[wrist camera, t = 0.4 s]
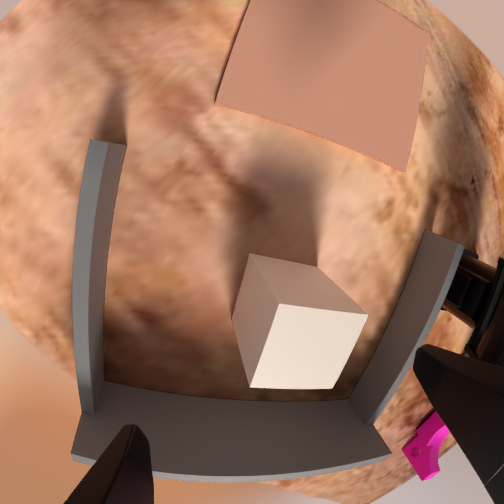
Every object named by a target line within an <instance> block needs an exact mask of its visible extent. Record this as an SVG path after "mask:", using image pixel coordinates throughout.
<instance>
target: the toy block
mask: <svg viewBox="0 0 504 504" xmlns="http://www.w3.org/2000/svg"><path fill="white" fill-rule="evenodd" d="M416 432H417V433H418V436H417V437H415V438H414V439H413V440H412V441H411V442H410V443H409V444H408V445H407V446H405V447H404V448H403V449H402V451H403V452H404V454H405V455H406V457H407V458H408V460H409V462H410V463H411V465H412V466H413V468H414V469H415V471H416V472H417V474H418V475H419V477H420V479H421V480H422V481H423V480H427V479H430V478H432V477H433V476H434V475H436V474H437V473H438V472H439V471H440V469H439V465H438V453H439V449H440V446H441V444H442V442H443V440H444V439H445V437H446V436H447V435H448V434H449V433H450V431H449V429H448V428H447V426H446V425H445V423H444V422H443V421H442V419H441V418H440V416H439V415H438V413H437V412H436V411H435V412H434V413H433V414H432V415H431V416H430V417H429V418H428V419H427V420H426V421H425V422H424V423H423V424H422V425H421V426H420V427H419V428H418V429H417V430H416ZM420 450H421V452H420Z"/></svg>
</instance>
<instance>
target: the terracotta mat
mask: <svg viewBox="0 0 504 504" xmlns="http://www.w3.org/2000/svg"><path fill="white" fill-rule="evenodd" d="M427 44H428V34H427V33H426V32H424V31H423V30H422V29H420V28H419V27H417V26H416V25H415V24H413V23H412V22H410V21H409V20H407V19H406V18H404V17H403V16H401V15H400V14H398V13H397V12H395V11H394V10H392V9H390V8H389V7H387V6H386V5H384V4H382V3H381V2H379V1H377V0H251V1H250V3H249V6H248V8H247V11H246V13H245V16H244V19H243V21H242V24H241V27H240V29H239V32H238V35H237V38H236V40H235V43H234V46H233V49H232V52H231V55H230V58H229V60H228V63H227V66H226V69H225V73H224V76H223V79H222V82H221V85H220V88H219V91H218V95H217V98H216V101H215V105H219V106H223V107H227V108H231V109H234V110H238V111H242V112H245V113H249V114H252V115H256V116H259V117H263V118H266V119H269V120H272V121H276V122H279V123H282V124H285V125H288V126H291V127H294V128H297V129H300V130H302V131H305V132H308V133H311V134H314V135H316V136H319V137H322V138H324V139H327V140H330V141H332V142H335V143H337V144H340V145H342V146H345V147H347V148H350V149H352V150H354V151H357V152H359V153H362V154H364V155H366V156H368V157H371V158H373V159H375V160H377V161H380V162H382V163H384V164H386V165H388V166H390V167H392V168H395V169H397V170H399V171H401V172H406V168H407V163H408V159H409V155H410V151H411V146H412V142H413V137H414V132H415V127H416V122H417V117H418V112H419V106H420V100H421V94H422V87H423V80H424V72H425V64H426V55H427Z"/></svg>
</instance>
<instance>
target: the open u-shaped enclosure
mask: <svg viewBox="0 0 504 504" xmlns="http://www.w3.org/2000/svg"><path fill="white" fill-rule="evenodd" d="M126 148H127V145H122V144H117V143H110V142H104V141H98V140H91V139H90V143H89V148H88V152H87V157H86V162H85V167H84V173H83V178H82V184H81V191H80V197H79V204H78V212H77V221H76V231H75V242H74V256H73V280H72V316H73V339H74V353H75V364H76V374H77V382H78V389H79V397H80V403H81V409H82V414H81V417H80V421H79V424H78V428H77V432H76V435H75V439H74V442H73V447H72V450H71V455H72V458H73V460H74V461H77V462H80V463H84V464H88V465H92V466H93V465H94V463H95V462H96V461H97V459H98V458H99V457H100V455H101V454H102V453H103V451H104V450H105V449H106V448H107V446H108V445H109V444H110V442H111V441H112V440H113V438H114V437H115V436H116V434H117V433H118V432H119V431H120V429H121V428H122V427H123V426H124V425H127V424H136V425H138V426H139V428H140V429H141V430H142V432H143V433H144V434H145V436H146V437H147V439H148V441H149V445H150V455H151V465H152V474H153V477H154V478H162V479H171V480H182V481H196V482H259V481H274V480H285V479H294V478H302V477H309V476H316V475H322V474H328V473H333V472H338V471H343V470H348V469H352V468H357V467H361V466H365V465H369V464H373V463H377V462H380V461H384V460H387V458H388V457H389V456H390V455H391V454H392V452H391V451H390V449H389V448H388V446H387V445H386V443H385V442H384V440H383V439H382V437H381V436H380V434H379V433H378V431H377V430H376V428H375V427H374V425H373V424H374V423H375V421H376V420H377V419H378V417H379V416H380V414H381V413H382V411H383V410H384V409H385V407H386V406H387V404H388V403H389V401H390V400H391V398H392V397H393V395H394V393H395V392H396V390H397V389H398V387H399V386H400V384H401V382H402V381H403V379H404V377H405V376H406V374H407V372H408V371H409V369H410V367H411V365H412V364H413V362H414V358H415V352H416V349H417V348H418V347H421V346H423V344H424V342H425V340H426V338H427V336H428V334H429V332H430V330H431V328H432V326H433V324H434V322H435V319H436V317H437V315H438V313H439V311H440V309H441V306H442V304H443V302H444V300H445V297H446V295H447V293H448V290H449V288H450V285H451V283H452V280H453V278H454V275H455V272H456V270H457V267H458V264H459V262H460V259H461V256H462V253H463V250H464V247H465V246H463V245H461V244H459V243H457V242H454V241H452V240H450V239H447V238H445V237H442V236H440V235H438V234H435V233H433V232H430V231H428V230H425V232H424V235H423V238H422V241H421V244H420V247H419V250H418V253H417V255H416V258H415V261H414V264H413V266H412V269H411V272H410V274H409V277H408V279H407V282H406V284H405V287H404V289H403V292H402V294H401V297H400V299H399V301H398V304H397V306H396V308H395V311H394V313H393V315H392V317H391V319H390V322H389V324H388V326H387V328H386V330H385V332H384V334H383V336H382V338H381V340H380V342H379V344H378V346H377V348H376V350H375V352H374V354H373V356H372V358H371V360H370V362H369V364H368V366H367V368H366V369H365V371H364V373H363V375H362V377H361V378H360V380H359V382H358V384H357V385H356V387H355V389H354V391H353V392H352V394H351V396H350V397H349V399H346V400H329V401H295V402H282V401H247V400H230V399H218V398H207V397H197V396H189V395H181V394H173V393H166V392H160V391H154V390H148V389H142V388H137V387H132V386H127V385H122V384H117V383H112V382H108V381H104V364H103V325H104V300H105V284H106V271H107V261H108V251H109V243H110V235H111V227H112V221H113V214H114V208H115V202H116V196H117V190H118V185H119V180H120V175H121V170H122V165H123V161H124V156H125V152H126Z"/></svg>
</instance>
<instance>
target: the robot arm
mask: <svg viewBox="0 0 504 504" xmlns="http://www.w3.org/2000/svg"><path fill="white" fill-rule="evenodd" d="M478 257H479V256H478V254H476V253H473V252H471V251H469V250H466V249H464V250H463V253H462V256H461V259H460V262H459V264H458V267H457V270H456V272H455V275H454V278H453V280H452V283H451V285H450V288H449V290H448V293H447V295H446V297H445V300H444V302H443V304H442V306H441V309H440V310H446V311H449V312H450V313H452V314H453V315H454V316H456V317H457V318H459V319H460V320H461V321H463V322H464V323H466V324H467V325H468V326H470V327H471V328H472V329H474V330H473V333H472V335H471V337H470V339H469V341H468V343H467V344H466V346H465V348H464V350H465V351H466V352H467V354H468V355H469V357H467V356H464V355H461V354H457V353H454V352H451V351H448V350H445V349H442V348H439V347H436V346H433V345H430V344H425V345H423V346H421V347H418V348H417V349H416V352H415V358H414V363H413V370H414V373H415V375H416V377H417V378H418V380H419V382H420V384H421V386H422V388H423V389H424V391H425V393H426V395H427V397H428V399H429V401H430V402H431V404H432V406H433V407H434V409H435V410H436V412H437V413H438V415H439V416H440V418H441V419H442V421H443V422H444V423H445V425H446V426H447V428H448V429H449V431H450V432H451V434H452V435H453V437H454V438H455V440H456V441H457V443H458V444H459V446H460V448H461V449H462V451H463V452H464V454H465V455H466V457H467V459H468V460H469V462H470V463H471V465H472V467H473V468H474V470H475V471H476V473H477V475H478V476H479V478H480V480H481V481H482V483H483V484H484V485H485V486H484V487H485V488H486V490H487V492H488V493H489V495H490V496H491V498H492V500H493V502H494V504H504V258H503V257H499V259H498V266H497V269H496V268H494V267H492V266H490V265H488V264H486V263H484V262H482V261H480V260H478ZM64 504H154V483H153V474H152V465H151V455H150V445H149V441H148V439H147V437H146V436H145V434H144V433H143V432H142V430H141V429H140V428H139V426H138V425H136V424H127V425H124V426H123V427H122V428H121V429H120V431H119V432H118V433H117V434H116V436H115V437H114V438H113V440H112V441H111V442H110V444H109V445H108V446H107V448H106V449H105V450H104V451H103V453H102V454H101V455H100V457H99V458H98V459H97V461H96V462H95V463H94V465H93V466H92V467H91V469H90V470H89V471H88V473H87V474H86V475H85V476H84V478H83V479H82V480H81V481H80V483H79V484H78V486H77V487H76V488H75V489H74V491H73V492H72V493H71V495H70V496H69V497H68V499H67V500H66V501H65V502H64Z"/></svg>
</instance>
